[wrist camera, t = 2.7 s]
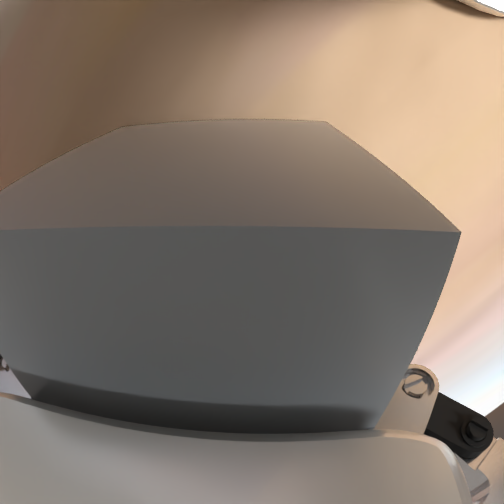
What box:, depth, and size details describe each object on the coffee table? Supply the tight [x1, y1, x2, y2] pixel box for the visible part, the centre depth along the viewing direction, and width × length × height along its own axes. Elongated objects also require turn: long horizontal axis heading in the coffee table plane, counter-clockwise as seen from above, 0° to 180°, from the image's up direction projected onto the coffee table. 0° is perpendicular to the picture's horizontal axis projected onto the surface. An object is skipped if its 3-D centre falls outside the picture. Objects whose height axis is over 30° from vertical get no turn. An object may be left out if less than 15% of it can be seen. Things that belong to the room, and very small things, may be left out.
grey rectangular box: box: [0, 119, 461, 434], centre depth 10 cm, size 11×8×9 cm
